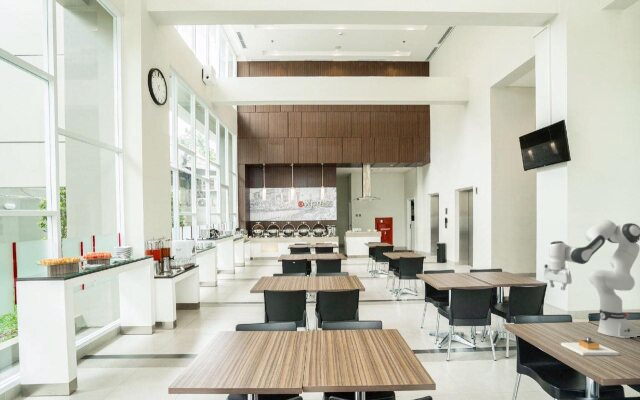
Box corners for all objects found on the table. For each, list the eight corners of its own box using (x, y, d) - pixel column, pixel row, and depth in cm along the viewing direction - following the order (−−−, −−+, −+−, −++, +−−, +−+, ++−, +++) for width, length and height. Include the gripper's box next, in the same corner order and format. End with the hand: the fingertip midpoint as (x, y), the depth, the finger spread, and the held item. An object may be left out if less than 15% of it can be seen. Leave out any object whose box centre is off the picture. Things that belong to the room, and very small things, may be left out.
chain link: (589, 345, 211) (589, 339, 211) (599, 349, 205) (599, 343, 205) (578, 345, 211) (578, 339, 211) (587, 349, 204) (587, 343, 204)
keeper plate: (594, 345, 216) (594, 333, 217) (618, 355, 200) (618, 342, 201) (561, 345, 215) (561, 333, 215) (582, 355, 199) (582, 342, 199)
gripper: (574, 268, 235) (574, 291, 234) (550, 264, 255) (551, 285, 255) (564, 269, 234) (565, 291, 234) (541, 264, 254) (542, 285, 254)
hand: (557, 288), depth 244 cm, fingers open, 8 cm apart
